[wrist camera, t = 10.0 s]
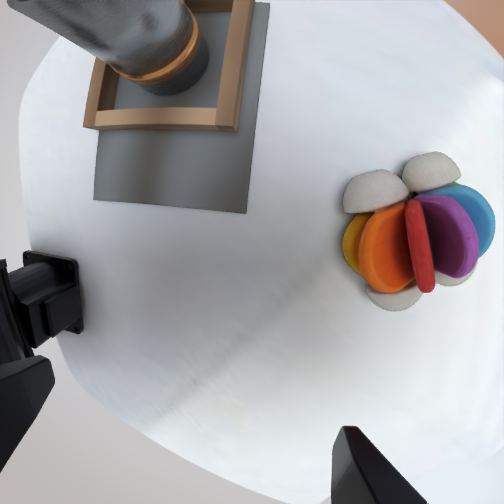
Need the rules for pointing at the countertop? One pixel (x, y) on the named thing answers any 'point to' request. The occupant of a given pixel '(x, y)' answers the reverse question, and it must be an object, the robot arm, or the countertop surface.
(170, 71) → the grey metal cylinder
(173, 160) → the picture frame
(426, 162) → the multicolored petal flower
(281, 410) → the countertop surface
